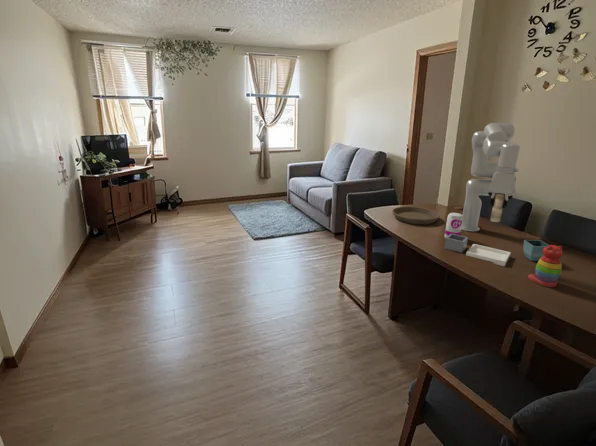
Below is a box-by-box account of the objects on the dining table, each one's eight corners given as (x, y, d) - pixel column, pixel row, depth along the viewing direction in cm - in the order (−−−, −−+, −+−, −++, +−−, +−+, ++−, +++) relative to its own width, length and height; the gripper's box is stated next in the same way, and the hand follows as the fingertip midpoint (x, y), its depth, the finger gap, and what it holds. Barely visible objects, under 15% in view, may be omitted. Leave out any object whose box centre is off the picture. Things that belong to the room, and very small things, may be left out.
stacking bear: (549, 277, 166) (559, 241, 161) (563, 288, 157) (575, 250, 151) (525, 276, 167) (534, 240, 161) (538, 287, 157) (548, 249, 151)
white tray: (472, 247, 198) (473, 243, 197) (509, 256, 188) (510, 252, 187) (465, 256, 187) (466, 252, 186) (504, 266, 176) (505, 261, 176)
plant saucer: (396, 209, 266) (397, 203, 264) (441, 215, 253) (442, 209, 252) (386, 221, 239) (387, 214, 238) (436, 229, 227) (437, 222, 225)
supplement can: (460, 242, 206) (465, 217, 201) (445, 240, 207) (449, 216, 202) (457, 237, 213) (461, 212, 208) (443, 235, 215) (446, 211, 210)
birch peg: (491, 218, 184) (496, 192, 179) (500, 220, 181) (506, 193, 177) (489, 221, 180) (494, 193, 176) (499, 222, 178) (504, 195, 173)
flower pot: (519, 255, 190) (523, 239, 187) (536, 255, 189) (540, 240, 186) (529, 262, 181) (533, 246, 178) (547, 263, 181) (551, 246, 178)
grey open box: (449, 244, 202) (450, 233, 199) (466, 248, 196) (468, 237, 194) (444, 249, 195) (446, 237, 193) (461, 254, 190) (463, 242, 187)
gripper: (527, 171, 170) (518, 208, 176) (488, 166, 180) (481, 202, 186) (524, 173, 165) (516, 211, 171) (484, 169, 174) (477, 205, 180)
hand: (498, 206), depth 178 cm, fingers closed on birch peg, 4 cm apart
